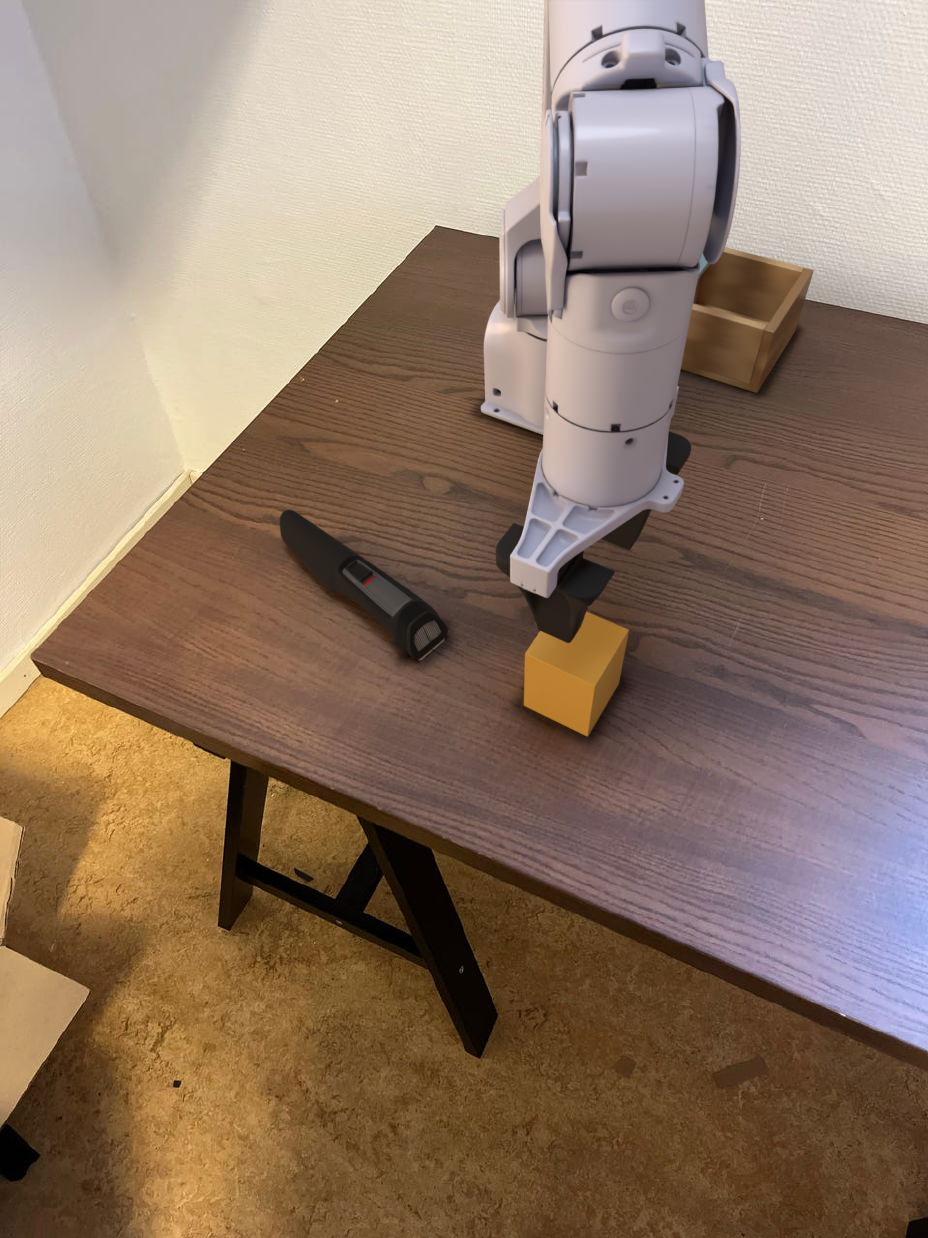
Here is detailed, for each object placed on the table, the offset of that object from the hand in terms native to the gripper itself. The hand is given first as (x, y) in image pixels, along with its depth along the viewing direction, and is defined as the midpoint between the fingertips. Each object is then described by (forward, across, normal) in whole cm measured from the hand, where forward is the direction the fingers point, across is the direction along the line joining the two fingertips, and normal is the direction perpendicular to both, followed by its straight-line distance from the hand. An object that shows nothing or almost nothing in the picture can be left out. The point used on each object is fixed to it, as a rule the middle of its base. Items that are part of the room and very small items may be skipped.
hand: (587, 584), depth 49 cm
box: (+10, +38, +5) cm, 40 cm away
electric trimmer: (+10, -1, +17) cm, 20 cm away
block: (+10, -1, 0) cm, 10 cm away
